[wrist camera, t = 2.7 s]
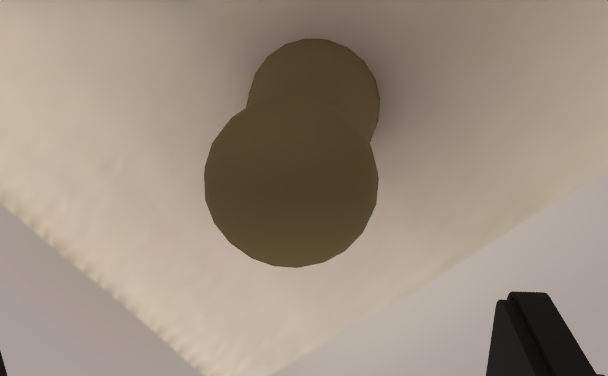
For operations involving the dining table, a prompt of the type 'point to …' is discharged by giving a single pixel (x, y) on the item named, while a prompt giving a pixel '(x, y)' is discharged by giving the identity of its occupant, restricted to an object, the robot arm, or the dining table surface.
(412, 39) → the dining table surface
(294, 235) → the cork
